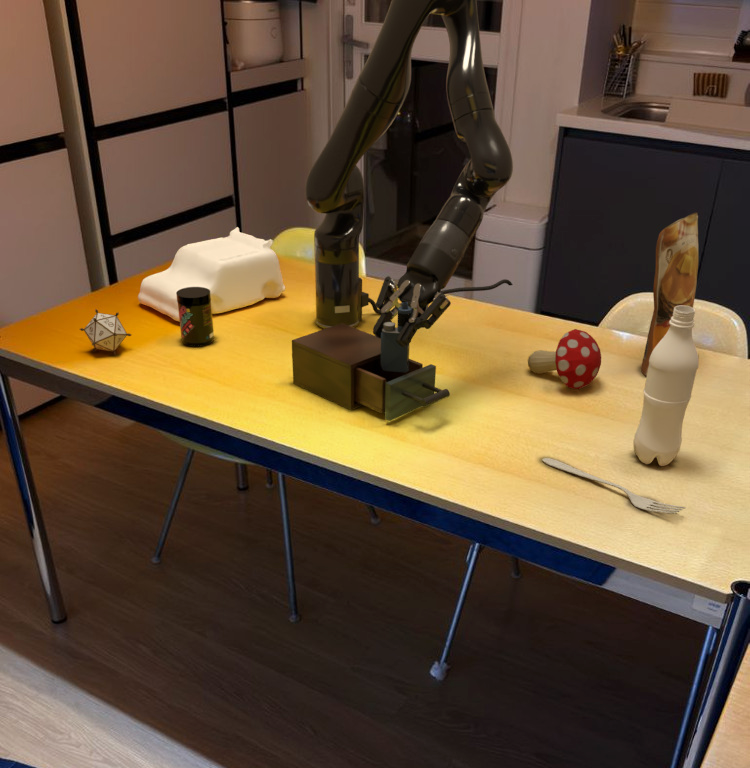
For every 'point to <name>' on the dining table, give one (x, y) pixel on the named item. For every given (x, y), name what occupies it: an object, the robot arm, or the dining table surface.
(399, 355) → the vaping device
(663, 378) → the water bottle
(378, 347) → the cabinet
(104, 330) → the game die
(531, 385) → the dining table surface
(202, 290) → the supplement container
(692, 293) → the pancake mix bag
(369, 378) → the drawer
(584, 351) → the decorative mushroom
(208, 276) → the white toy car
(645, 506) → the fork
